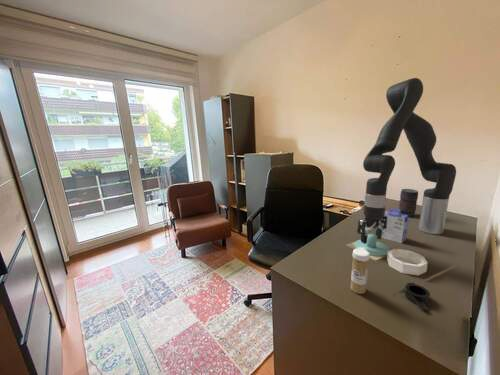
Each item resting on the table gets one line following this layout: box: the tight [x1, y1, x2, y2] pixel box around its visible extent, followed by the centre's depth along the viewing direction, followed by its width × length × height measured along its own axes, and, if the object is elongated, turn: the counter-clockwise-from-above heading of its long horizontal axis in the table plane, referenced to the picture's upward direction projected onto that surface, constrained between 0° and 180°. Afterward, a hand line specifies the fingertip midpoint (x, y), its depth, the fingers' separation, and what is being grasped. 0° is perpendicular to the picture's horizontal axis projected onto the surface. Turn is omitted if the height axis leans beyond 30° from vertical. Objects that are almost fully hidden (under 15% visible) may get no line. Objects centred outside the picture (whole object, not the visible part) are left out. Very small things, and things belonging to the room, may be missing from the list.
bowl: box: [386, 248, 428, 276], centre depth 78 cm, size 11×11×4 cm
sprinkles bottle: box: [349, 249, 370, 295], centre depth 67 cm, size 5×5×13 cm
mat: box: [346, 237, 394, 261], centre depth 91 cm, size 14×14×1 cm
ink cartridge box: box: [381, 207, 410, 244], centre depth 97 cm, size 10×6×14 cm, turn 39°
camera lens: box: [398, 188, 419, 218], centre depth 124 cm, size 8×8×15 cm
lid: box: [354, 233, 390, 256], centre depth 91 cm, size 13×13×6 cm
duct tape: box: [403, 282, 431, 311], centre depth 64 cm, size 8×10×3 cm
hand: (371, 240), depth 91 cm, fingers open, 8 cm apart
